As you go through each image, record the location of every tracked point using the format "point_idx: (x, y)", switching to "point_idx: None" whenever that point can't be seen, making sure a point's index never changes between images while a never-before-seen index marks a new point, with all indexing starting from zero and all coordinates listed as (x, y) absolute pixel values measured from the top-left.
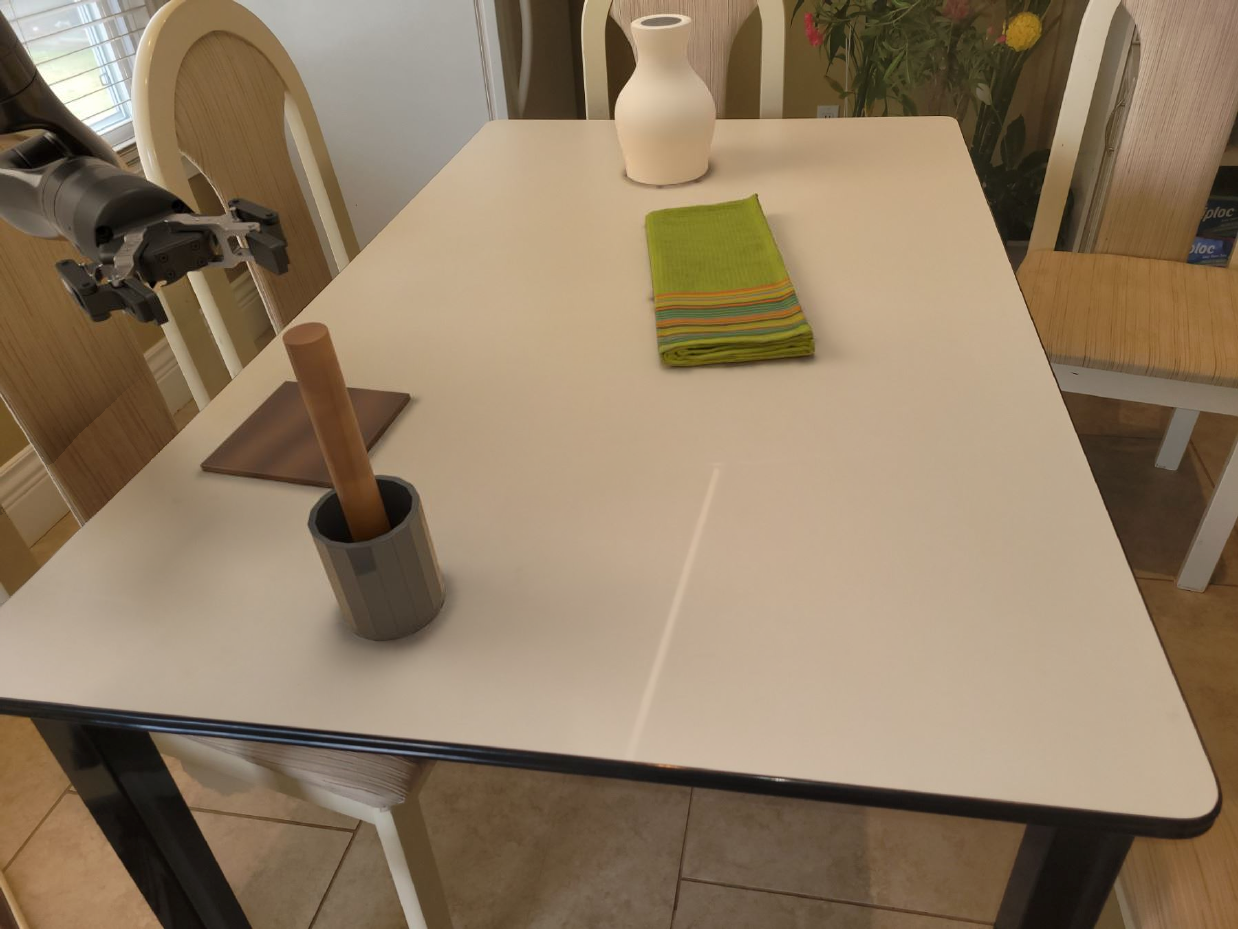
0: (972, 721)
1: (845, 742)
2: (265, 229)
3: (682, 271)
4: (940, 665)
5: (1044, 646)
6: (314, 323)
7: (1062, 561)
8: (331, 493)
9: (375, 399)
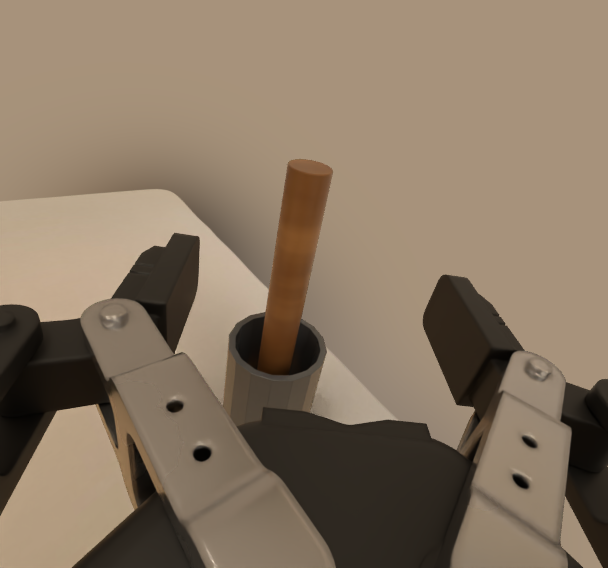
0: (167, 218)
1: (201, 238)
2: (79, 323)
3: None
4: (144, 225)
5: (115, 209)
6: (294, 166)
7: (53, 207)
8: (284, 376)
9: None
